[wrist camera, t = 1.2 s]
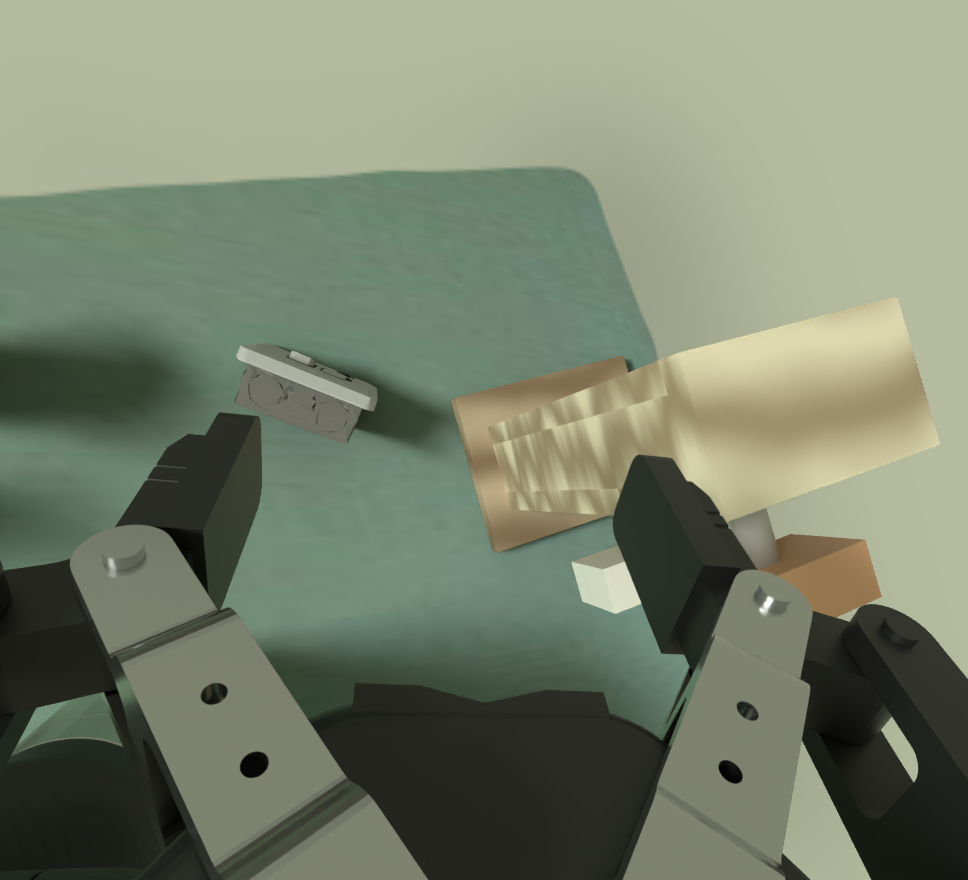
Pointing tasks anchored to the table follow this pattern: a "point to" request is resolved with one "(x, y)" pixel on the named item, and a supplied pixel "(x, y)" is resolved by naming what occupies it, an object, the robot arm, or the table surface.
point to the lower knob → (606, 581)
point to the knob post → (700, 423)
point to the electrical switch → (302, 391)
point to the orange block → (811, 564)
